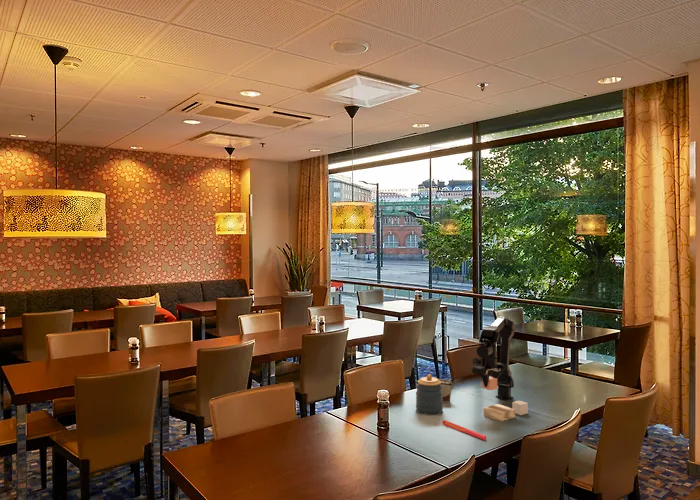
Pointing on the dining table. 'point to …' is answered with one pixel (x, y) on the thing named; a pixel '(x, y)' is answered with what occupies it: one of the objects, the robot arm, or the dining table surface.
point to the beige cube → (520, 407)
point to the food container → (446, 389)
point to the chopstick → (464, 430)
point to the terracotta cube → (490, 384)
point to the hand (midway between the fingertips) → (489, 386)
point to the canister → (429, 396)
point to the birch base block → (499, 412)
